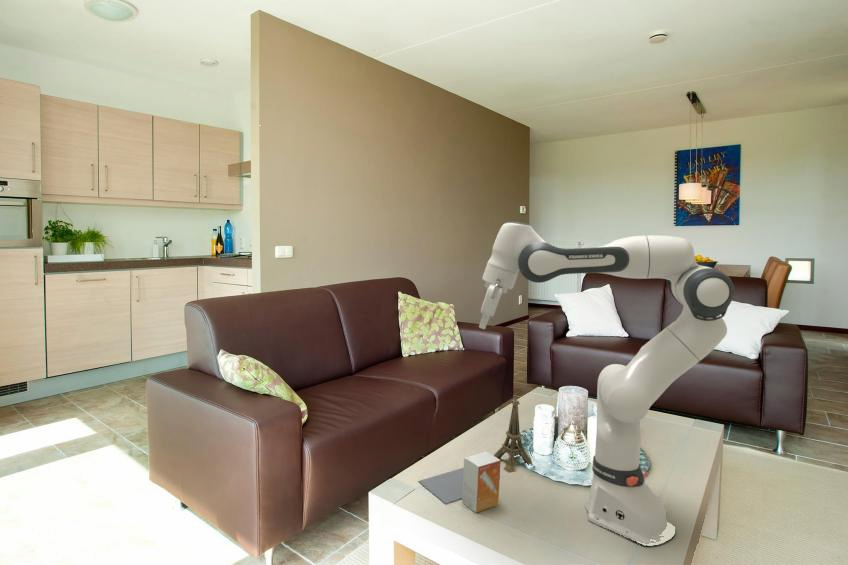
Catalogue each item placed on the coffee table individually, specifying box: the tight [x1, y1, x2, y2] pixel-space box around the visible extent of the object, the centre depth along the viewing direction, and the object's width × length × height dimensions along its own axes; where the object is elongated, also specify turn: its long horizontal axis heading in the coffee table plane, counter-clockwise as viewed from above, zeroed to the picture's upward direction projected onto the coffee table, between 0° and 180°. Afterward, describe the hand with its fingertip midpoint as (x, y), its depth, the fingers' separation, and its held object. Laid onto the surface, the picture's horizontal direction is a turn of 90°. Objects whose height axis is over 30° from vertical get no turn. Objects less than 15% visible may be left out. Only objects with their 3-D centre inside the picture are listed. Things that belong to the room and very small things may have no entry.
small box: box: [461, 451, 502, 513], centre depth 133 cm, size 8×6×13 cm
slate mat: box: [417, 467, 464, 505], centre depth 144 cm, size 14×19×1 cm
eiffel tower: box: [493, 393, 533, 474], centre depth 158 cm, size 11×11×25 cm
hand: (482, 324), depth 136 cm, fingers open, 8 cm apart
